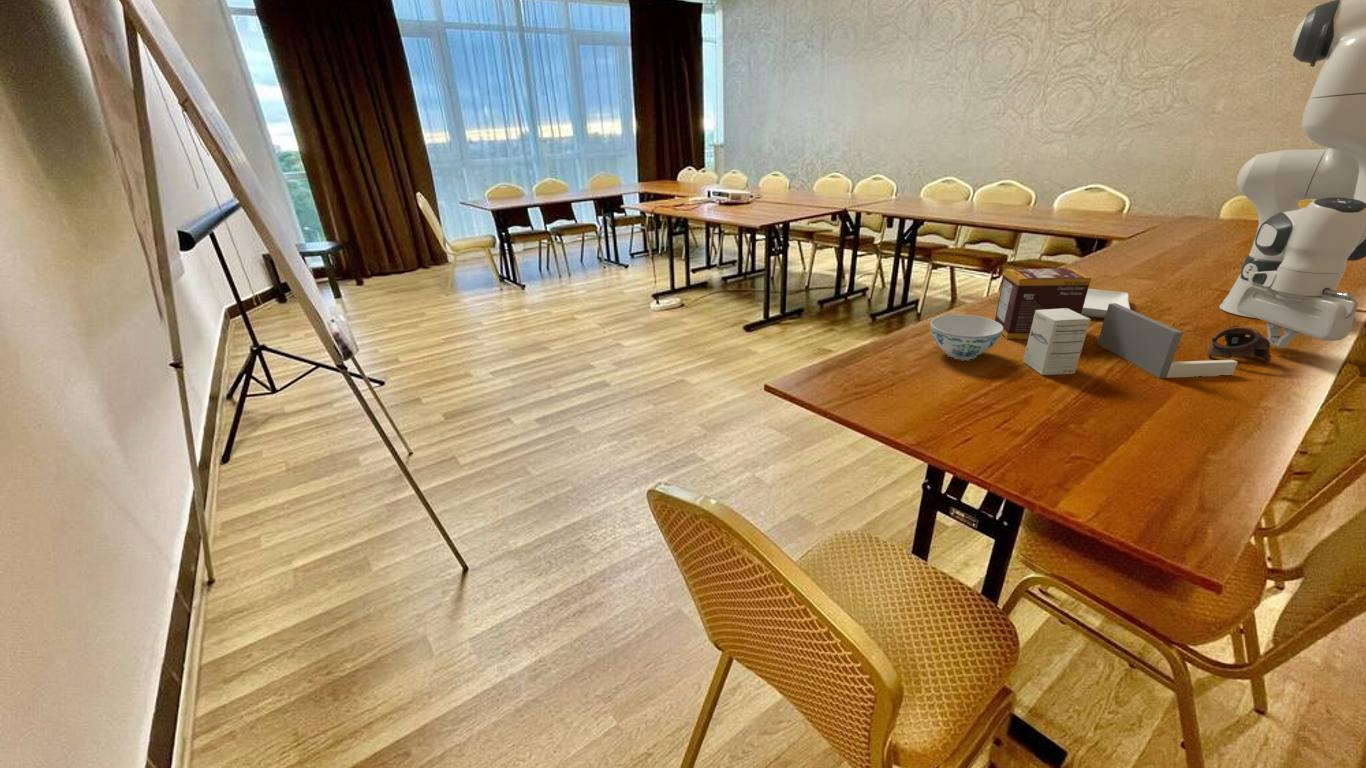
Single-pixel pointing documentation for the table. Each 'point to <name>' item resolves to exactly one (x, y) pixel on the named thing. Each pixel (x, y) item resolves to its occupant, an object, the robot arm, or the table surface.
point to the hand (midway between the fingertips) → (1275, 345)
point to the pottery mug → (1240, 344)
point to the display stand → (1153, 345)
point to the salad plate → (1102, 302)
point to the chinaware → (965, 335)
